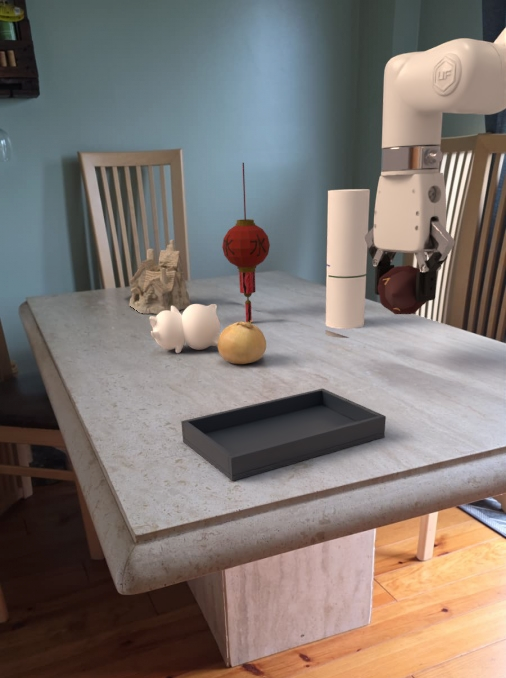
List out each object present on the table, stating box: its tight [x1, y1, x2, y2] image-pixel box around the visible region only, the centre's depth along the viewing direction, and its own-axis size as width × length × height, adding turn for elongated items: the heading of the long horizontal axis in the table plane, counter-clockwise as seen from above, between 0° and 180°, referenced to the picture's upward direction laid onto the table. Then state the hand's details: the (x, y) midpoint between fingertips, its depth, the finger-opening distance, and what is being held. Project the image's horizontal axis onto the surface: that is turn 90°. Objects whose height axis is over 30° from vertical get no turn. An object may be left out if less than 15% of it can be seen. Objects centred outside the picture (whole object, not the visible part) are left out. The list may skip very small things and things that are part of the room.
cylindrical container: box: [325, 188, 371, 339], centre depth 113 cm, size 7×7×25 cm
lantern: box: [221, 162, 271, 324], centre depth 122 cm, size 10×10×30 cm
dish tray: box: [180, 387, 387, 482], centre depth 72 cm, size 12×20×3 cm, turn 120°
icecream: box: [377, 265, 428, 315], centre depth 89 cm, size 7×7×15 cm
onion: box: [217, 319, 267, 365], centre depth 101 cm, size 8×8×7 cm
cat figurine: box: [149, 303, 221, 354], centre depth 110 cm, size 9×11×12 cm
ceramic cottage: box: [128, 239, 192, 315], centre depth 143 cm, size 16×16×15 cm
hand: (403, 296), depth 89 cm, fingers closed on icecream, 7 cm apart
